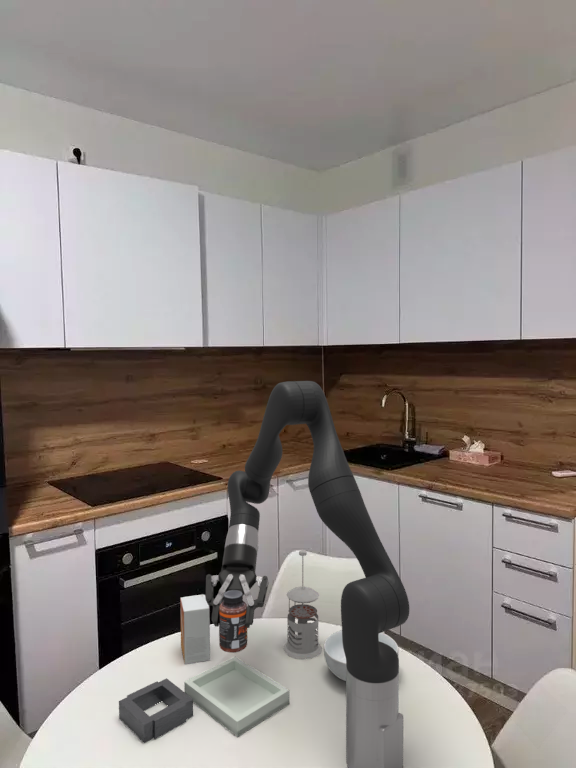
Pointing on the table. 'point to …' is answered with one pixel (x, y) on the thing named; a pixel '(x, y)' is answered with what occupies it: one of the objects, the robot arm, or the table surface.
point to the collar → (162, 720)
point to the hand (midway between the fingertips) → (231, 625)
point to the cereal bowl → (337, 656)
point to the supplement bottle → (232, 622)
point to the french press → (302, 623)
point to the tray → (237, 695)
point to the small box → (195, 629)
